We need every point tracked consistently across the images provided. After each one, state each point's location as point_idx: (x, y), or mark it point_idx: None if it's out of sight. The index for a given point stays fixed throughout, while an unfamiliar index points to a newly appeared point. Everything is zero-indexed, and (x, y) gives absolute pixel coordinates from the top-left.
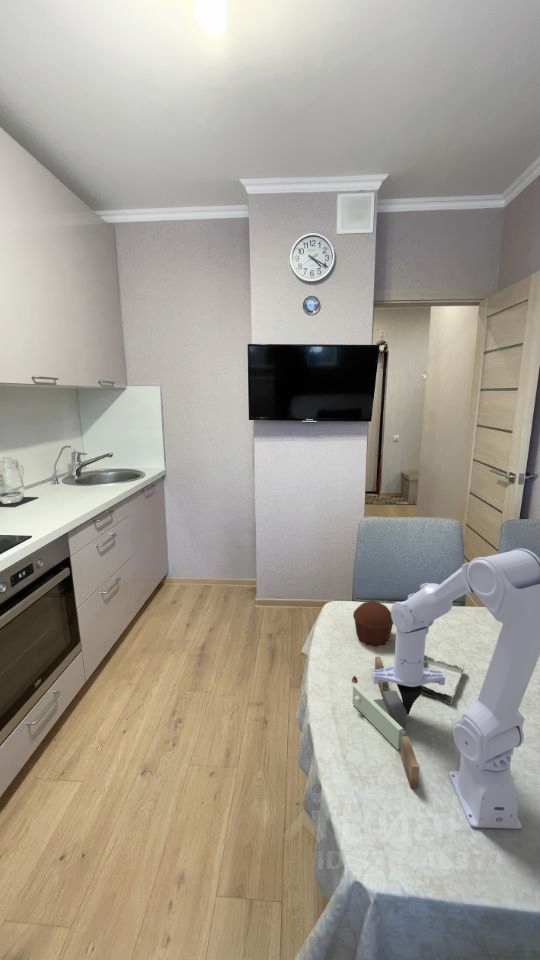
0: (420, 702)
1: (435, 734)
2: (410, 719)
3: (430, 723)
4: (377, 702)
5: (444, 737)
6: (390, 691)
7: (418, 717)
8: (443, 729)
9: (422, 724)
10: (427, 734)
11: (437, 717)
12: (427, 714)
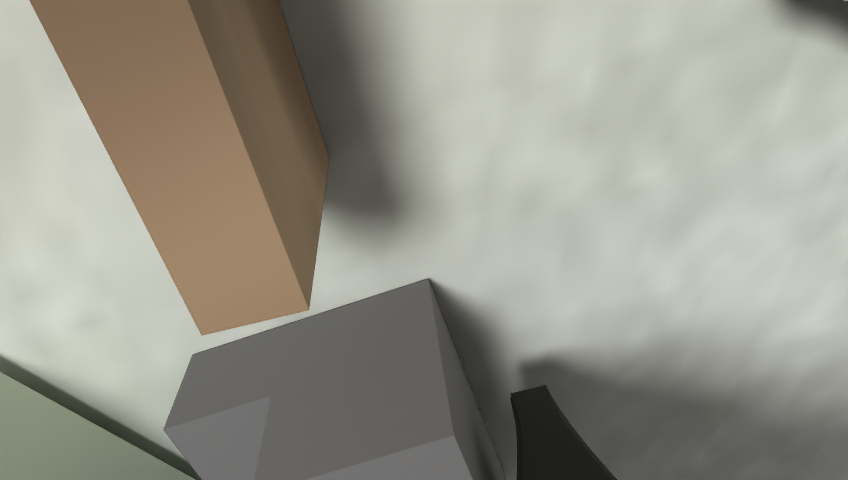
0: (726, 142)
1: (728, 460)
2: (559, 386)
3: (729, 379)
4: (219, 451)
5: (787, 465)
6: (365, 469)
7: (640, 347)
8: (816, 404)
9: (654, 406)
10: (665, 476)
11: (825, 300)
12: (741, 291)
